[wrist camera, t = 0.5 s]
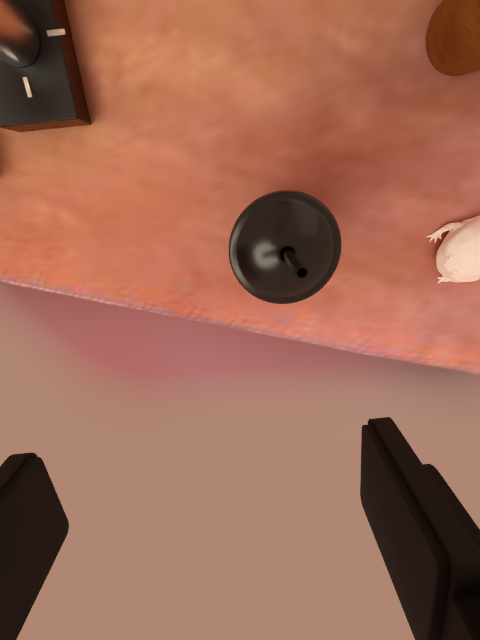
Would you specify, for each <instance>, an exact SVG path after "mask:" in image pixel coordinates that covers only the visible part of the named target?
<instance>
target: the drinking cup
mask: <svg viewBox="0 0 480 640" xmlns="http://www.w3.org/2000/svg"><path fill="white" fill-rule="evenodd" d="M340 254H341V235H340V230H339V227H338V224H337V222H336V220H335V218H334V216H333V214H332V213H331V212H330V210H329V209H328V208H327V207H326V206H325V205H324V204H323V203H322V202H321V201H319V200H318V199H316V198H315V197H313V196H311V195H308V194H306V193H303V192H299V191H291V190H284V191H277V192H272V193H269V194H266V195H264V196H262V197H260V198H258V199H257V200H255V201H254V202H252V203H251V204H250V205H249V206H248V207H247V208H246V209H245V210H244V211H243V212H242V213H241V214H240V216H239V217H238V219H237V221H236V223H235V224H234V227H233V229H232V232H231V236H230V241H229V259H230V264H231V267H232V270H233V272H234V274H235V276H236V278H237V280H238V281H239V283H240V284H241V285H242V286H243V287H244V288H245V289H246V290H247V291H248V292H249V293H250V294H252V295H253V296H255V297H257V298H259V299H261V300H263V301H267V302H270V303H277V304H288V303H294V302H298V301H301V300H304V299H306V298H308V297H310V296H312V295H314V294H315V293H316V292H318V291H319V290H320V289H321V288H322V287H323V286H324V285H325V284H326V283H327V282H328V281H329V280H330V278H331V277H332V275H333V273H334V272H335V270H336V267H337V265H338V262H339V258H340Z"/></svg>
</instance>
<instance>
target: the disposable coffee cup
mask: <svg viewBox="0 0 480 640" xmlns="http://www.w3.org/2000/svg"><path fill="white" fill-rule="evenodd" d="M426 47H427V52H428V56H429V59H430V61H431V63H432V64H433V66H434V67H435V68H436V69H437V70H438V71H440V72H441V73H443V74H445V75H450V76H459V75H463V74H466V73H470V72H474V71H477V70H480V0H443V1H442V2H441V3H440V4H439V6H438V7H437V9H436V10H435V12H434V13H433V16H432V18H431V20H430V23H429V26H428V30H427V36H426Z"/></svg>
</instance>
